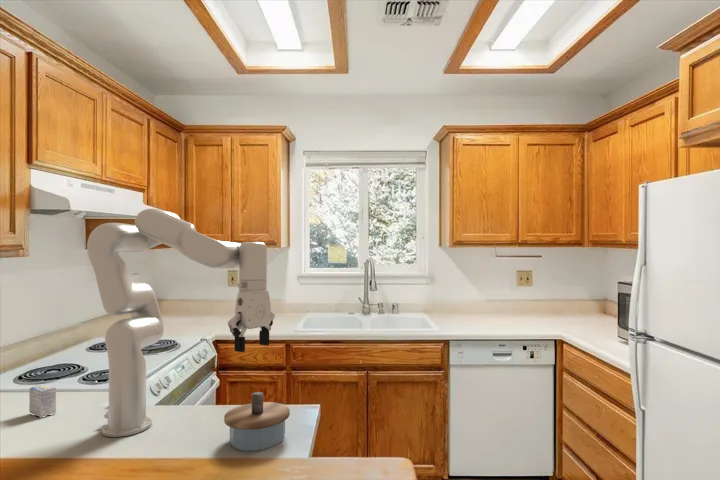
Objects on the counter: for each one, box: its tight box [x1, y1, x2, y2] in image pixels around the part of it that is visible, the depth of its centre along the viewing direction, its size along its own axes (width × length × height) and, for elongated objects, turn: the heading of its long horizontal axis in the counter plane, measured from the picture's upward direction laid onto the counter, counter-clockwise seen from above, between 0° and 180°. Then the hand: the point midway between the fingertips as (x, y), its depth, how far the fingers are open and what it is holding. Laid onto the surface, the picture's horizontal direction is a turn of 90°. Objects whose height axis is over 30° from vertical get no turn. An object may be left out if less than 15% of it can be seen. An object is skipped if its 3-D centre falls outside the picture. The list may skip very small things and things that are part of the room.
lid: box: [223, 391, 291, 429], centre depth 111 cm, size 17×17×6 cm
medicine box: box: [28, 384, 57, 418], centre depth 134 cm, size 8×4×9 cm, turn 59°
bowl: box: [229, 420, 286, 452], centre depth 111 cm, size 14×14×6 cm
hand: (252, 348), depth 115 cm, fingers open, 9 cm apart
